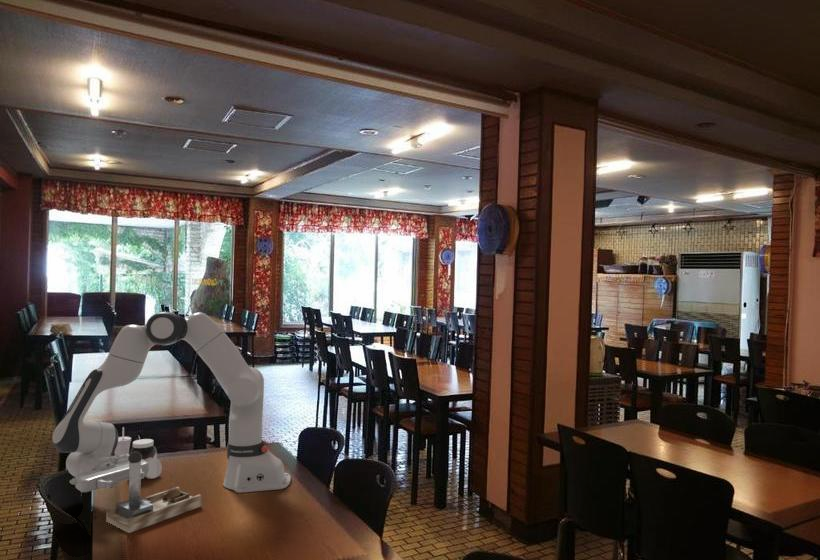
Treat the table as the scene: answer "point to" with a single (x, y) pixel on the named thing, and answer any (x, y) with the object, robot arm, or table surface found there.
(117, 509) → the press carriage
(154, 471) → the spread jar
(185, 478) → the table surface
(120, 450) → the smoothie
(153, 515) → the press base
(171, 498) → the walnut
